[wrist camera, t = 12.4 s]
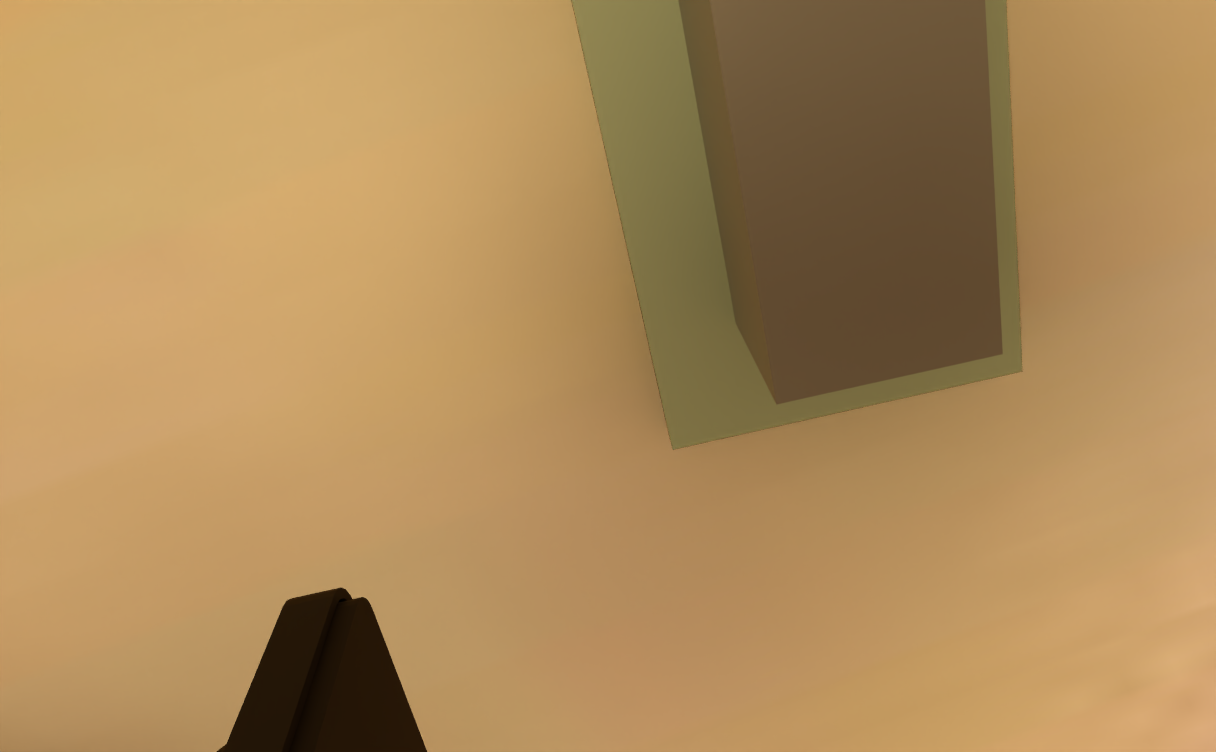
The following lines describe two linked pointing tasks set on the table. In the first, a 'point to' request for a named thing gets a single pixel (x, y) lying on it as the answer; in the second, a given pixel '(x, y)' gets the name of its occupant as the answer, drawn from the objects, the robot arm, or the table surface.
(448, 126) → the table surface
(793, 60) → the plug housing
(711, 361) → the pin board
